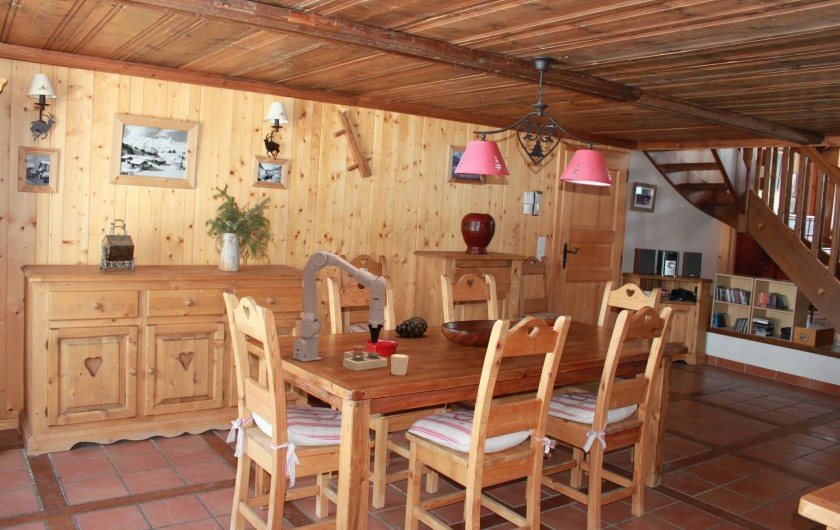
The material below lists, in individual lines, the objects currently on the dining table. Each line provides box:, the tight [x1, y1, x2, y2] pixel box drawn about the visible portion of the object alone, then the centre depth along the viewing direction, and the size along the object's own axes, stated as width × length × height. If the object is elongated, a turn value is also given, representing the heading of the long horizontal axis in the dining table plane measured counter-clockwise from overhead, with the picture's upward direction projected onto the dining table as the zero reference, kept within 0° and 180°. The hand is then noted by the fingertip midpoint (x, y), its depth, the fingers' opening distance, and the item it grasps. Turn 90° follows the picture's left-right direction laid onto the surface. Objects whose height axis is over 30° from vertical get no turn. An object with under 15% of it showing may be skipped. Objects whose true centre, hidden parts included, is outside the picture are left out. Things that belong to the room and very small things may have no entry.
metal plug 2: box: [367, 351, 380, 360], centre depth 284 cm, size 5×5×4 cm
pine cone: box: [394, 315, 429, 339], centre depth 353 cm, size 10×18×10 cm, turn 141°
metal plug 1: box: [352, 354, 364, 362], centre depth 279 cm, size 5×5×4 cm
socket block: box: [342, 350, 388, 372], centre depth 285 cm, size 16×18×3 cm
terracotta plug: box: [352, 344, 365, 355], centre depth 291 cm, size 5×5×4 cm
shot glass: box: [390, 353, 409, 376], centre depth 274 cm, size 7×7×7 cm
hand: (374, 342), depth 284 cm, fingers closed
